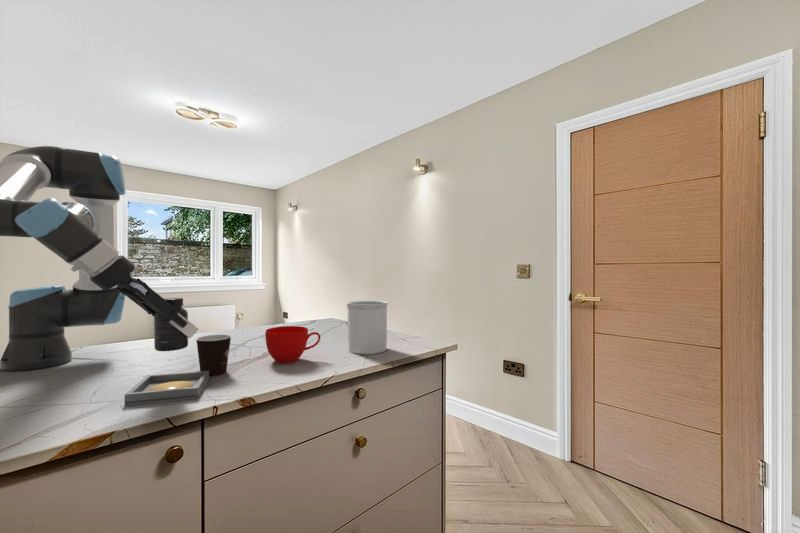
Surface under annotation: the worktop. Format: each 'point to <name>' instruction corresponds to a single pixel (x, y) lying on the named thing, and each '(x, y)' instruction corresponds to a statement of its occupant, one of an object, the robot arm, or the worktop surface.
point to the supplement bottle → (169, 330)
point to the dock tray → (167, 388)
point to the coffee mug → (213, 353)
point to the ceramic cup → (288, 342)
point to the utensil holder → (367, 326)
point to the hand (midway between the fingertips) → (187, 331)
